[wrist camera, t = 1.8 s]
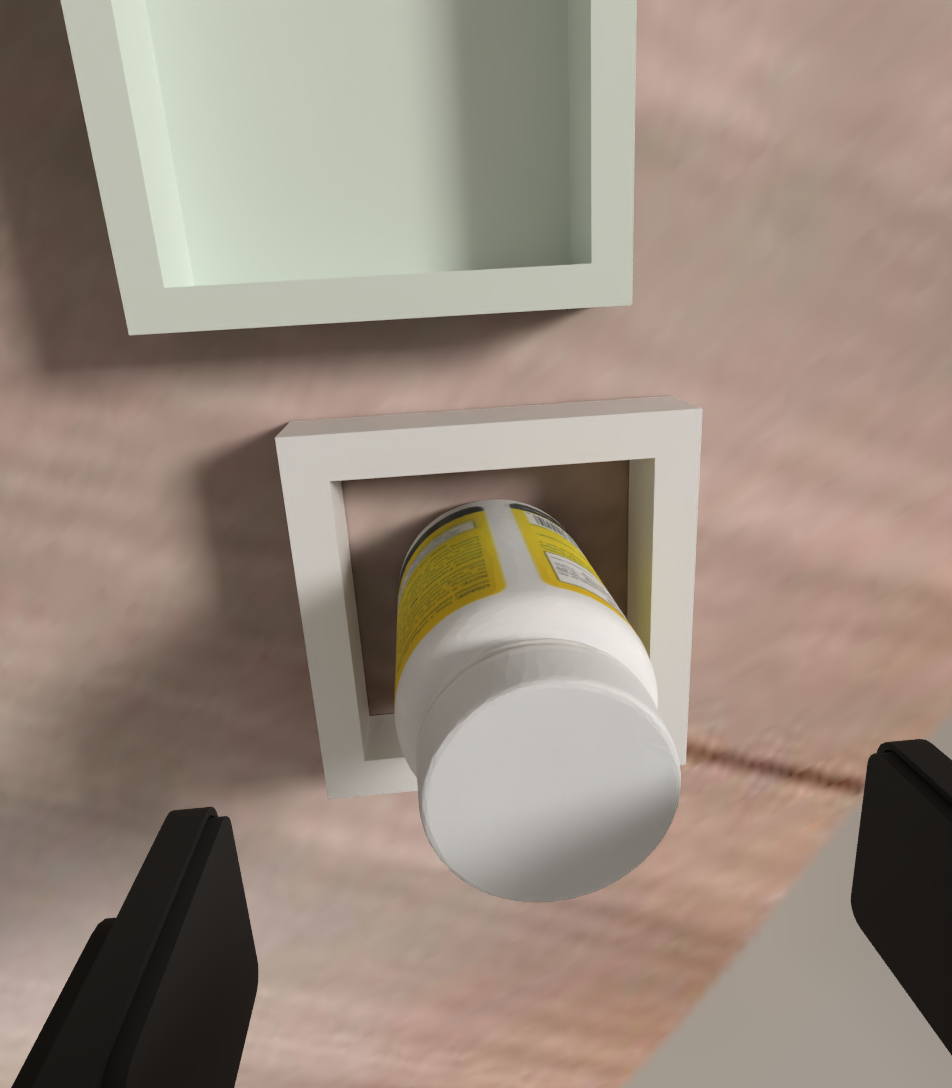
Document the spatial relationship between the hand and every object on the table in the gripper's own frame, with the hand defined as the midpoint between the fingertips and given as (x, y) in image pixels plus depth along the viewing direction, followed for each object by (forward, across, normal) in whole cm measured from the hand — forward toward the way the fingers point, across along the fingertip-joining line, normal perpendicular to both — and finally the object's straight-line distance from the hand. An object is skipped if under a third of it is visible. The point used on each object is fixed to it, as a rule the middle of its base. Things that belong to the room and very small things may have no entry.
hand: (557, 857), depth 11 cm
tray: (+8, +2, -12) cm, 15 cm away
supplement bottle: (+9, 0, -1) cm, 9 cm away
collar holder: (+9, 0, -1) cm, 9 cm away
